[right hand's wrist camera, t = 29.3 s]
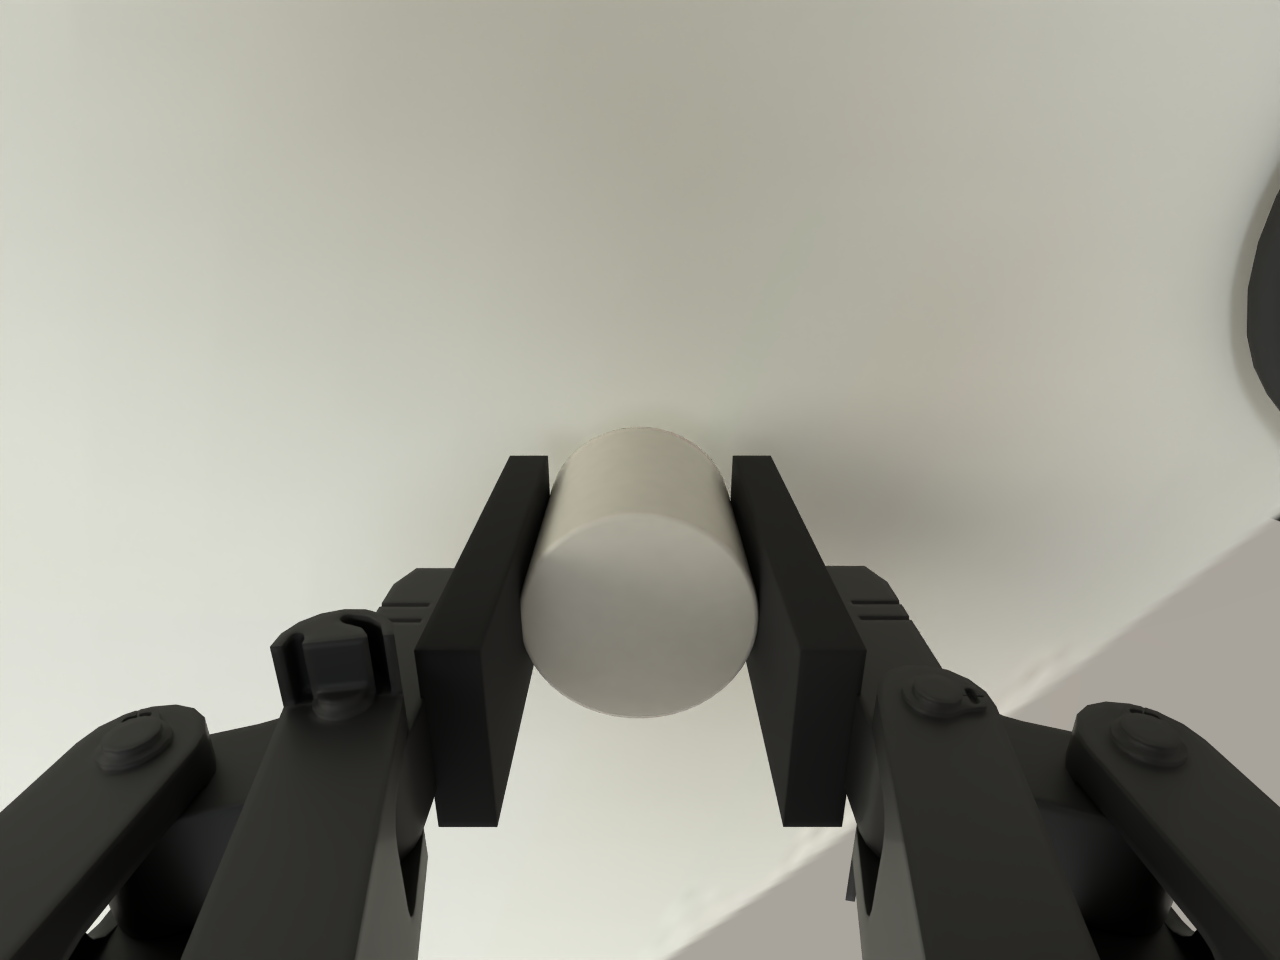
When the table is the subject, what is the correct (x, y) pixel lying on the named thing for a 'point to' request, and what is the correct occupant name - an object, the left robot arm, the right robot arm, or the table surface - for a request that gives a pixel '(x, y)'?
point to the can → (639, 578)
